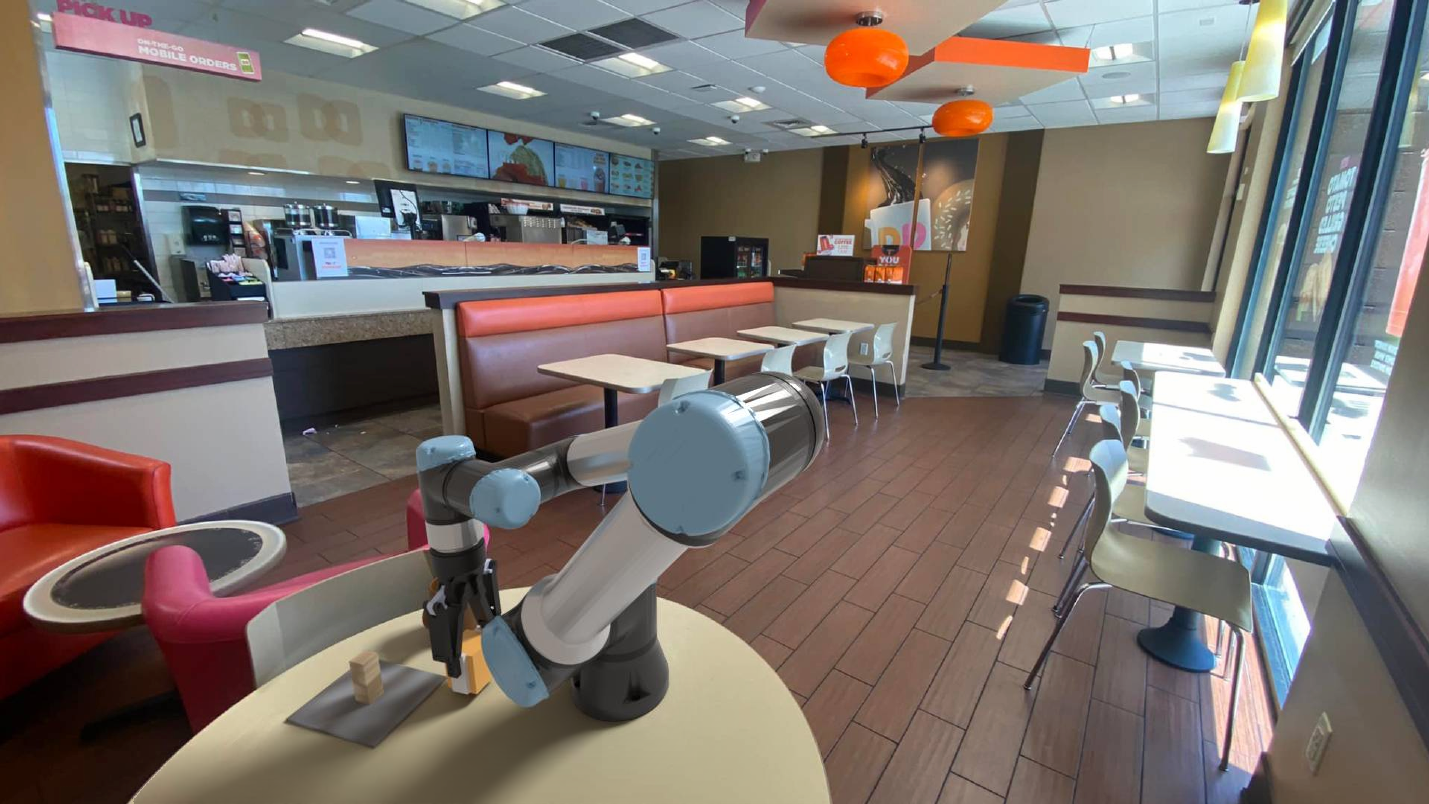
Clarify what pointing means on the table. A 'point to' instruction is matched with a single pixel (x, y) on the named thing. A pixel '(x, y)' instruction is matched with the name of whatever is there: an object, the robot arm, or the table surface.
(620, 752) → the table surface
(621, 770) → the table surface
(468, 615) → the mug
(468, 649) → the orange foam cube
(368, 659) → the grey rubber mat
